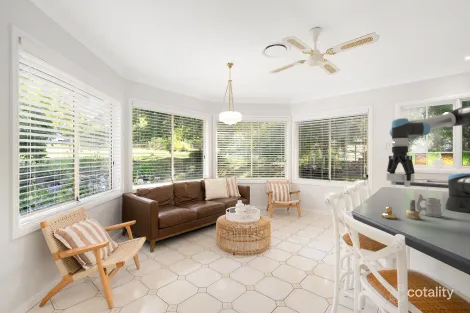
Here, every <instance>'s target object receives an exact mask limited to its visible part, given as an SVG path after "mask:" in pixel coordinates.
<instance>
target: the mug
mask: <svg viewBox="0 0 470 313" xmlns="http://www.w3.org/2000/svg"><path fill="white" fill-rule="evenodd" d="M423 201H425V203H424V205H425V206H421V202H423ZM415 209H416V210H417V211H420V213H421V212H422V211H424V213H425V216H427V217H431V218H432V217H433V218H441V217H442V215H443V212H442V203H441V199H440V198H437V197H426V198H424V196H423V195H422V194H421V193H418V197H417V201H416V202H415Z"/></svg>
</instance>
